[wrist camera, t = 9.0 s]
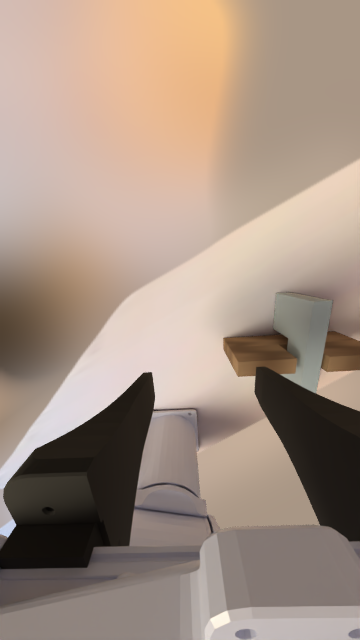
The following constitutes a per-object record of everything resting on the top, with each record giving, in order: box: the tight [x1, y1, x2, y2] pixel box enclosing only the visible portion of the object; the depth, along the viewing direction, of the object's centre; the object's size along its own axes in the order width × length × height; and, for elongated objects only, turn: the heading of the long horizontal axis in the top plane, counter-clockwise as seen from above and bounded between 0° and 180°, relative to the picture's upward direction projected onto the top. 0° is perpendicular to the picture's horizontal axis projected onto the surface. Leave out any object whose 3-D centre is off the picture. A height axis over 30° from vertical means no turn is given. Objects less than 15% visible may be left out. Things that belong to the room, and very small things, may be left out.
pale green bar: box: [273, 292, 333, 393], centre depth 19 cm, size 2×12×6 cm, turn 4°
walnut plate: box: [224, 331, 360, 377], centre depth 19 cm, size 14×2×6 cm, turn 94°
